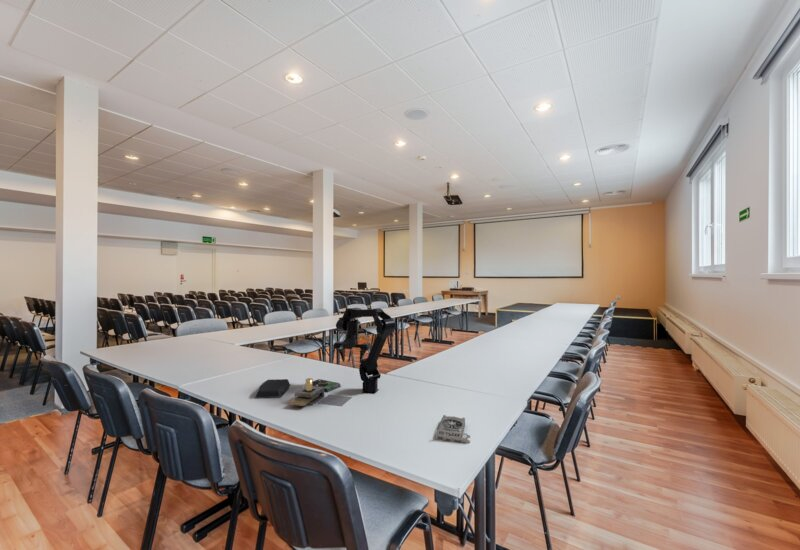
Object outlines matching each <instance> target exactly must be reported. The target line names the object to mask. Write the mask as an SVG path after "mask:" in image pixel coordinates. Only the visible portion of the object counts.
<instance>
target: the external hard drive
mask: <svg viewBox="0 0 800 550" xmlns="http://www.w3.org/2000/svg"><path fill="white" fill-rule="evenodd" d="M289 386H291V384H290V381H289V379H287V378H284V379H283V378H282V379H267V380H265V381H263V382H262V383H261V384H260V385H259V387H258V388H257V391H256V392H255V393H256V394H255V396H254V399H280V398H282V397H283V396H284V395H285V394H286V393H287V391H288V390H289V388H290V387H289Z"/></svg>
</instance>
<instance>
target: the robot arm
mask: <svg viewBox="0 0 800 550" xmlns="http://www.w3.org/2000/svg"><path fill="white" fill-rule="evenodd" d="M370 317H372V319H373V322H374V324H375V326H376V329H375V330H376V336H375V339H374V340H373V343H372V344H371V342H363V343H361V344H360V343H359V339H358V337H359V325H360V324H361V321H359V319H361V318H370ZM396 327H397V325H396V322H395V319H393V318H392V317H391V315H389V314H388V313H386V312H385V311H384V310H383V309H382V308H379V307H378V308H371V309H370V308H369V309H367V308H366V309H365V308H364V309H362V308H360V307H347V308H346V309H345V311H344V312H343V315H342V316H341V317H339V318H338V320H337V322H336V323H335V328H336V330H338V331H341V332H342V331H343V332H346V334H345V337H344V339H343V341H339V340H338V341H335V342H334V343H333V349H335V351H337V352H338V353H339V355H340V357H341V360H342V362H343V363H345V361H346V350H352V349H353V348H355V349H356V348H357V349H360V350H359V365H358V366H359V368H358V371H359V376H360V380H361V381H362V392H361V393H362V394H369V395H371V394H372V395H375V394H376V393H378V391H379V390H380V389H379V387H378V384H379V383H378V382H379V381H378V380H379V379H381V373H380V371H379V368H378V365H379V364H378V361H379V358H380V354H381V352H382V350H383V348H384V346H385V343H386V341H387V339H388V338H389V337H390V336H391V335H392V333H393V332H394V331H395V329H396ZM367 351H369V354H368V356H367V358H364V356H365V354H366V352H367Z"/></svg>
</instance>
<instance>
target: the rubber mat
mask: <svg viewBox="0 0 800 550" xmlns="http://www.w3.org/2000/svg"><path fill="white" fill-rule="evenodd" d="M351 399H353V396H348V395H339V394H328V395H326V396H324V398H323V399H321V400H320V401H318V402H317V403H316V404H318V405H326V406H338V407H343V406H344V405H345V404H347V402H348V401H350V400H351Z"/></svg>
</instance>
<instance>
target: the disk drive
mask: <svg viewBox="0 0 800 550" xmlns="http://www.w3.org/2000/svg"><path fill="white" fill-rule="evenodd" d="M341 385H342V384H341V383H340V382H335V381H331V380H325V379H319V378H318V379H316V380H313V385H312V386H318V387H324V393H329V392H332V391H334V390H336V389H339V388H341V387H342V386H341ZM305 386H306V383H305V385H304V387H305Z"/></svg>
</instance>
